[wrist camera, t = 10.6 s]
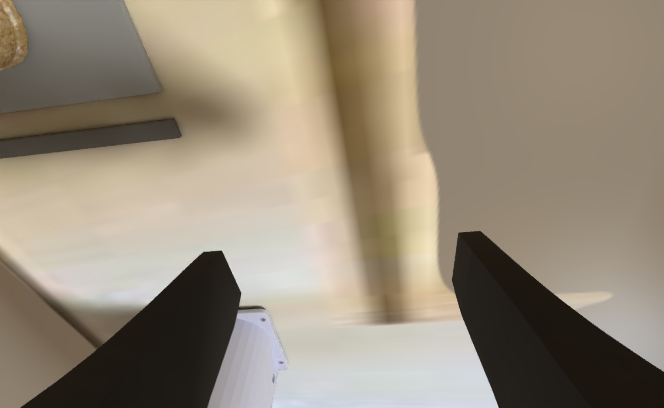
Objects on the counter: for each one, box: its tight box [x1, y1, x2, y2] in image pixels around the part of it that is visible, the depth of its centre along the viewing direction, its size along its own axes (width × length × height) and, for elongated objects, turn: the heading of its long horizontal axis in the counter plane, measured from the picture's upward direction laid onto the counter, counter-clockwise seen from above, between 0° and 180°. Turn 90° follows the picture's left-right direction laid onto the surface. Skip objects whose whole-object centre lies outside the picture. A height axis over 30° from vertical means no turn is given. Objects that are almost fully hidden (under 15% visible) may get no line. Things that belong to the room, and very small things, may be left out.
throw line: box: [0, 119, 182, 158], centre depth 18 cm, size 1×14×1 cm, turn 97°
